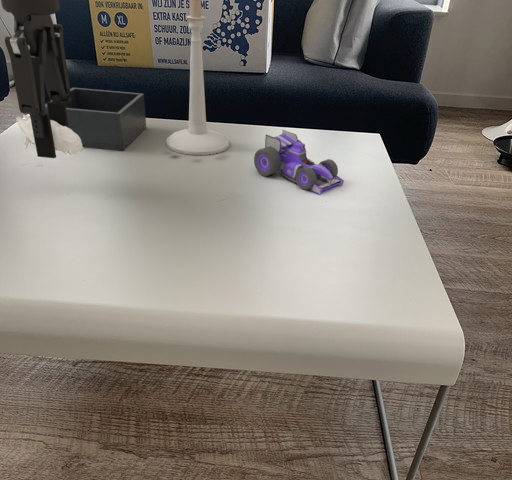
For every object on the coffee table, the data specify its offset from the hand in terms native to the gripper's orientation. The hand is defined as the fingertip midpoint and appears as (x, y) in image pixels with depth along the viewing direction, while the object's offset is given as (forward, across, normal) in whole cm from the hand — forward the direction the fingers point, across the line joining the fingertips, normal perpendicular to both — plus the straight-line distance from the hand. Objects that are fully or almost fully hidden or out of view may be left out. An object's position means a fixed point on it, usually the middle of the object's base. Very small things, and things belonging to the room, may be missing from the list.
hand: (54, 150), depth 88 cm
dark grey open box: (+7, +28, +4) cm, 29 cm away
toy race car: (+6, +15, -39) cm, 43 cm away
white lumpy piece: (+1, 0, 0) cm, 1 cm away
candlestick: (+6, +28, -17) cm, 33 cm away
